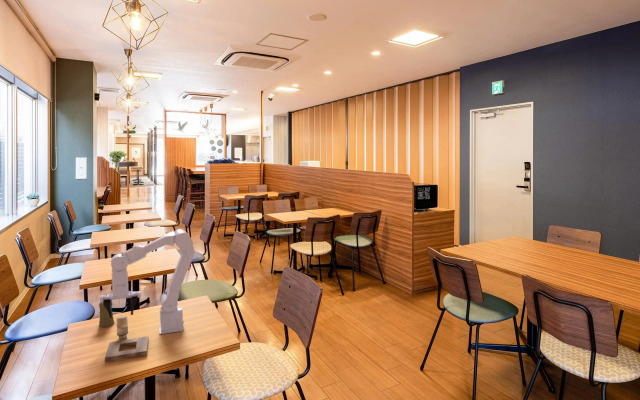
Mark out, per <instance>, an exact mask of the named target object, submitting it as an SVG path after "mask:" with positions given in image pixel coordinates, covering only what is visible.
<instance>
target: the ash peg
mask: <svg viewBox="0 0 640 400" xmlns="http://www.w3.org/2000/svg"><path fill="white" fill-rule="evenodd" d="M115 319H116V320H115V321H116V336H118V341H120V340H127V339H128V338H127V337H128V333H129V324H128V320H129V319H128V315H126V314H125V315H120V316H117V317H116V318H115Z"/></svg>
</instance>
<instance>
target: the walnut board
mask: <svg viewBox="0 0 640 400" xmlns="http://www.w3.org/2000/svg"><path fill="white" fill-rule="evenodd" d="M133 347H135V348H133ZM126 348H132V349H126ZM121 349H125V350H121ZM148 349H149V336H148V335H147V336H141V337H133V338H129V339H128V338H126V339H124V340H114V341H109V342H108V346H107V349H106V352H105V356H104V364H107V363H112V362H117V361H124V360H129V359H130V360H131V359H134V358H135V359H136V358H141V357H142V358H143V357H147V356H148V351H149V350H148Z"/></svg>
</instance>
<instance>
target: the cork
mask: <svg viewBox="0 0 640 400" xmlns="http://www.w3.org/2000/svg"><path fill="white" fill-rule="evenodd" d="M98 308H99V309H100V313H99V321H98V323H99V324H98V327H99V328H102V329H103V328H109V327H111V326H114V324H115V319H114V314H113V313H112V318H110V316H109V313H108V311H107V309H106V308H105V306H104V305H103V301H102V302H99V303H98Z"/></svg>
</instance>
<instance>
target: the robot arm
mask: <svg viewBox="0 0 640 400" xmlns="http://www.w3.org/2000/svg"><path fill="white" fill-rule="evenodd" d="M175 245H176V246H177V247H178V248H179V249H180V251H181V255H180V257H179V259H178V261H177V265H176V267H175V269H174V272H173V274H172V277H171V279H170V281H169V284H168V286H167V287H166V288H165V290H164V292H163V293H161V295H160V297H159V302H160V304H161V307H160V308H159V317H160V318H159V319H160V321H159V323H160V324H159V332H158V333H159V335H163V334H170V333H176V332H183V331H184V324H185V323H184V316H183V315H184V313H183V307H178V304H179V303H178V300H179V296H180V291H181V288H182V285H183V284H184V282H185V281H184V280H185V278H186V276H187V274H188V271H189V268H190V265H191V264H192V260H193V258H194V256H195V247H194V243H193V239H192V238H191V236H190V235H189V234H188V232H187V231H186V230H185V229H182V228H178V229H175V230H174V231H170V232H168V233H166V234H165V235H162V236H160V237H159V238H157V239H154V240H153V241H150V242H149V243H147V244H145V245H140V244H138V245H136V244H135V245H133V246H132V248H129V249H128V250H126V251H120V253H116V254H114V255H113V256H112V257H111V261H110V267H111V272H112V273H111V284H112V286H111V287H112V292H110V293H108V294H102V295H100V296H99V301H100V302H102V301H103V305H104V306H105V308H106V309H107V311H108V313H109V316H110V318H112V314H113V308H112V307H113V301H112V300H121V299H130V315H131V316H133V315H134V310H135V305H136V304H137V301H138V298H141V296H142V295H141V290H138V291H132V290H131V291H130V290H129V273H128V269H127V268H128V266H129V265H132V264H134V263H137V262H139V261H140V260H143V259H145V258H146V256H147V255H148V254H149V253H150V252H153V251H155V250H158V249H160V248H162V247H165V246H172V247H174V246H175ZM100 302H99V303H100Z"/></svg>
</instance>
